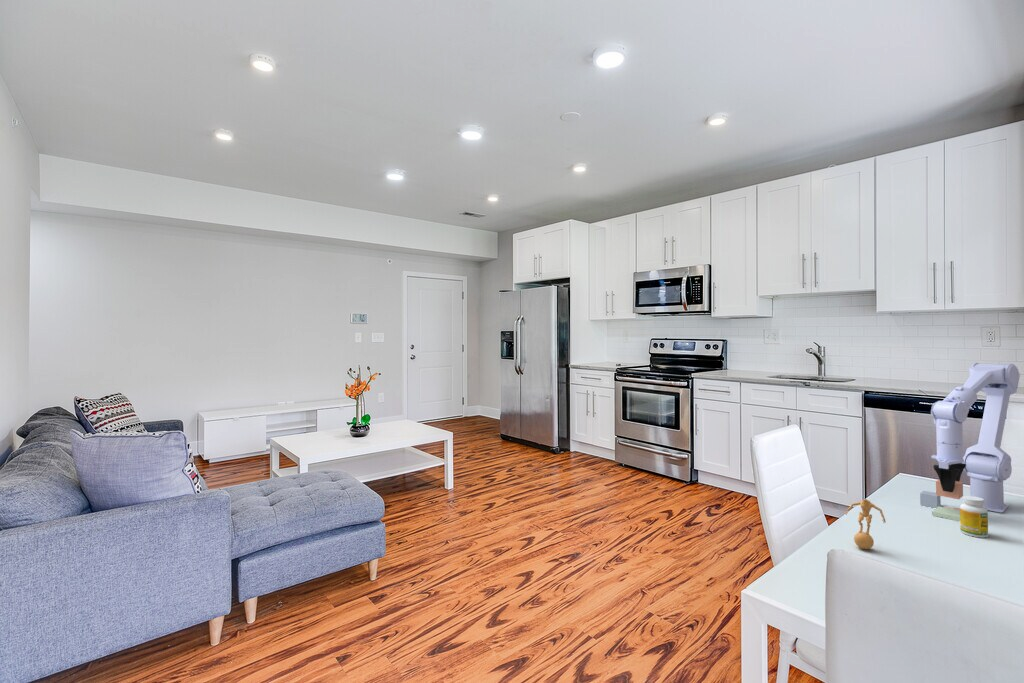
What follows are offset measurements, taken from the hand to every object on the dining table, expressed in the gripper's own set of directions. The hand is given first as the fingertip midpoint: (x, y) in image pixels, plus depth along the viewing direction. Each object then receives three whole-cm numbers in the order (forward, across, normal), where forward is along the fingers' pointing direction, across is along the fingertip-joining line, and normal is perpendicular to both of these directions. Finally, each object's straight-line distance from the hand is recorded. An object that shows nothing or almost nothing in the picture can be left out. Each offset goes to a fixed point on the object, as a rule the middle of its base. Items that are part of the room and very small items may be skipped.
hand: (950, 489), depth 142 cm
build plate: (+8, 0, 0) cm, 8 cm away
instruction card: (+8, -7, 0) cm, 10 cm away
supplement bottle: (+8, +12, +7) cm, 16 cm away
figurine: (+8, +44, -8) cm, 45 cm away
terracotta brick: (+2, 0, 0) cm, 2 cm away
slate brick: (+8, -6, -6) cm, 12 cm away
